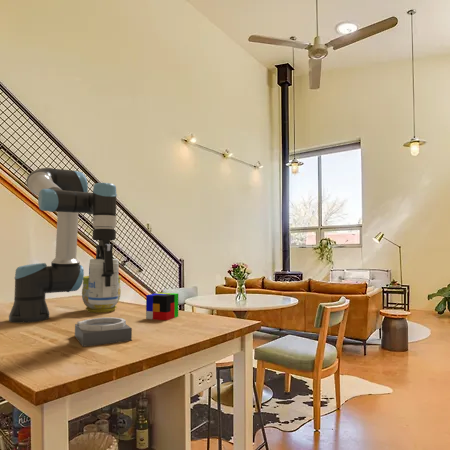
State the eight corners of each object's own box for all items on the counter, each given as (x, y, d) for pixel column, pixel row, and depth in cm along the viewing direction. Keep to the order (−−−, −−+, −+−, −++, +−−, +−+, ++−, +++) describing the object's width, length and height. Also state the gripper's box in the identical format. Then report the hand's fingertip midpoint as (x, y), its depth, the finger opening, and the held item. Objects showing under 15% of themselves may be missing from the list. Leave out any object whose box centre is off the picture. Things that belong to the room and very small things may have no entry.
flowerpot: (128, 310, 180) (128, 276, 181) (94, 315, 167) (94, 278, 168) (107, 306, 192) (108, 274, 193) (74, 311, 179) (74, 276, 180)
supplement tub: (82, 303, 125) (83, 259, 126) (107, 300, 132) (108, 258, 133) (98, 306, 118) (99, 259, 119) (123, 302, 126) (124, 258, 127)
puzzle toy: (146, 318, 159) (146, 295, 159) (158, 315, 168) (158, 292, 169) (166, 320, 155) (166, 296, 156) (178, 316, 164) (178, 293, 165)
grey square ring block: (74, 336, 128) (75, 319, 128) (118, 331, 135) (119, 315, 136) (82, 346, 114) (83, 328, 114) (131, 340, 121) (131, 323, 122)
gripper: (86, 230, 134) (85, 292, 133) (99, 226, 115) (98, 299, 114) (108, 230, 138) (107, 291, 137) (124, 227, 119) (123, 297, 118)
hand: (103, 295), depth 125 cm, fingers closed on supplement tub, 10 cm apart
